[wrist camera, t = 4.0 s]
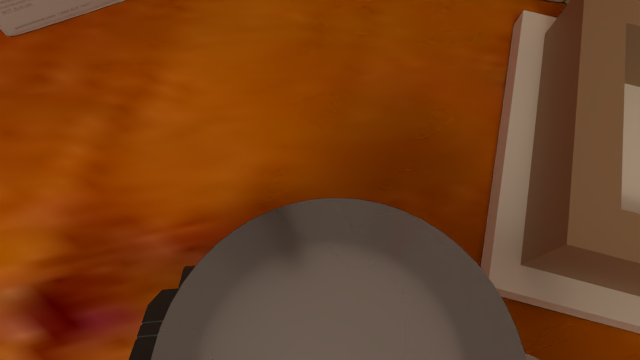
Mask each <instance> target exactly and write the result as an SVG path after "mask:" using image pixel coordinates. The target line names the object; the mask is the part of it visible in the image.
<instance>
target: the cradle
mask: <svg viewBox="0 0 640 360" xmlns="http://www.w3.org/2000/svg"><path fill="white" fill-rule="evenodd" d="M481 269H482V270H483V271H484V273H485V274H486V275H487V276H488V278H489V279H490V280H491V282H492V283H493V285H494V286H495V288H496V289H497V291H498V293H499V294H500V296H501V297H505V298H508V299H512V300H516V301H520V302H523V303H527V304H531V305H534V306H538V307H542V308H546V309H549V310H553V311H557V312H560V313H564V314H568V315H572V316H575V317H579V318H583V319H587V320H590V321H594V322H598V323H601V324H605V325H609V326H613V327H616V328H620V329H624V330H628V331H631V332H635V333H639V334H640V0H570V1H569V3H568V4H567V5H566V7H565V8H564V9H563V11H562V12H561V13H560V15H559V16H558V17H557V18H555V17H551V16H547V15H543V14H539V13H534V12H530V11H526V10H523V12H522V13H521V15H520V16H519V18H518V19H517V21H516V23H515V24H514V26H513V34H512V41H511V48H510V56H509V63H508V70H507V77H506V85H505V92H504V99H503V107H502V114H501V121H500V129H499V136H498V143H497V151H496V158H495V165H494V173H493V180H492V187H491V194H490V202H489V209H488V216H487V224H486V231H485V238H484V246H483V253H482V260H481Z"/></svg>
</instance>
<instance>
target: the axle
mask: <svg viewBox="0 0 640 360" xmlns="http://www.w3.org/2000/svg"><path fill="white" fill-rule="evenodd" d="M151 360H526V357H525V352H524V349H523V346H522V343H521V340H520V337H519V334H518V331H517V328H516V326H515V324H514V321H513V319H512V317H511V315H510V313H509V311H508V309H507V306H506V304H505V302H504V301H503V299H502V298H501V296H500V294H499V293H498V291H497V289H496V288H495V286H494V285H493V283H492V282H491V280H490V279H489V278H488V276H487V275H486V274H485V273H484V271H483V270H482V269H481V268H480V266H479V265H478V264H477V263H476V262H475V261H474V260H473V259H472V258H471V257H470V256H469V255H468V254H467V253H466V252H465V251H464V250H463V249H462V247H460V246H459V245H458V244H457V243H455V242H454V241H453V240H452V239H450V238H449V237H448V236H447V235H445V234H444V233H443V232H442V231H440V230H438V229H437V228H435V227H434V226H432V225H430V224H429V223H427V222H425V221H424V220H422V219H420V218H418V217H416V216H413V215H411V214H409V213H407V212H405V211H403V210H400V209H397V208H394V207H391V206H388V205H385V204H381V203H376V202H371V201H366V200H361V199H349V198H325V199H313V200H308V201H302V202H297V203H293V204H289V205H286V206H283V207H280V208H277V209H274V210H271V211H269V212H267V213H265V214H263V215H260V216H258V217H256V218H254V219H252V220H250V221H249V222H247V223H245V224H244V225H242V226H241V227H239V228H237V229H236V230H234V231H233V232H231V233H230V234H229V235H228V236H226V237H225V238H224V239H223V240H221V241H220V242H219V243H218V244H216V245H215V246H214V247H213V248H212V249H211V250H210V251H209V252H208V253H207V254H206V255H205V256H204V257H203V258H202V259H201V260H200V262H199V263H198V264H197V265H196V266H195V268H194V269H193V270H192V272H191V273H190V274H189V276H188V277H187V278H186V279H185V281H184V282H183V284H182V286H181V287H180V289H179V291H178V292H177V294H176V296H175V297H174V299H173V301H172V302H171V304H170V306H169V309H168V311H167V313H166V316H165V318H164V320H163V322H162V325H161V327H160V330H159V333H158V336H157V340H156V343H155V346H154V350H153V353H152V358H151Z"/></svg>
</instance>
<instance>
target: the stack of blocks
mask: <svg viewBox="0 0 640 360" xmlns="http://www.w3.org/2000/svg"><path fill="white" fill-rule="evenodd" d="M548 1H554V2H564V3H566V4H568V3H569V1H570V0H548Z"/></svg>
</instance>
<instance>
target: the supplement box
mask: <svg viewBox="0 0 640 360" xmlns="http://www.w3.org/2000/svg"><path fill="white" fill-rule="evenodd" d="M122 1H124V0H0V29H1V30H2V31H3V32H4V33H5V35H6V36H16V35H20V34H23V33H26V32H29V31H33V30H36V29H39V28H43V27H46V26H48V25H51V24H54V23H58V22H61V21H64V20H67V19H70V18H73V17H76V16H79V15H82V14H86V13H88V12H91V11H94V10H97V9H100V8H104V7H106V6H109V5H112V4H116V3H119V2H122Z"/></svg>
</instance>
